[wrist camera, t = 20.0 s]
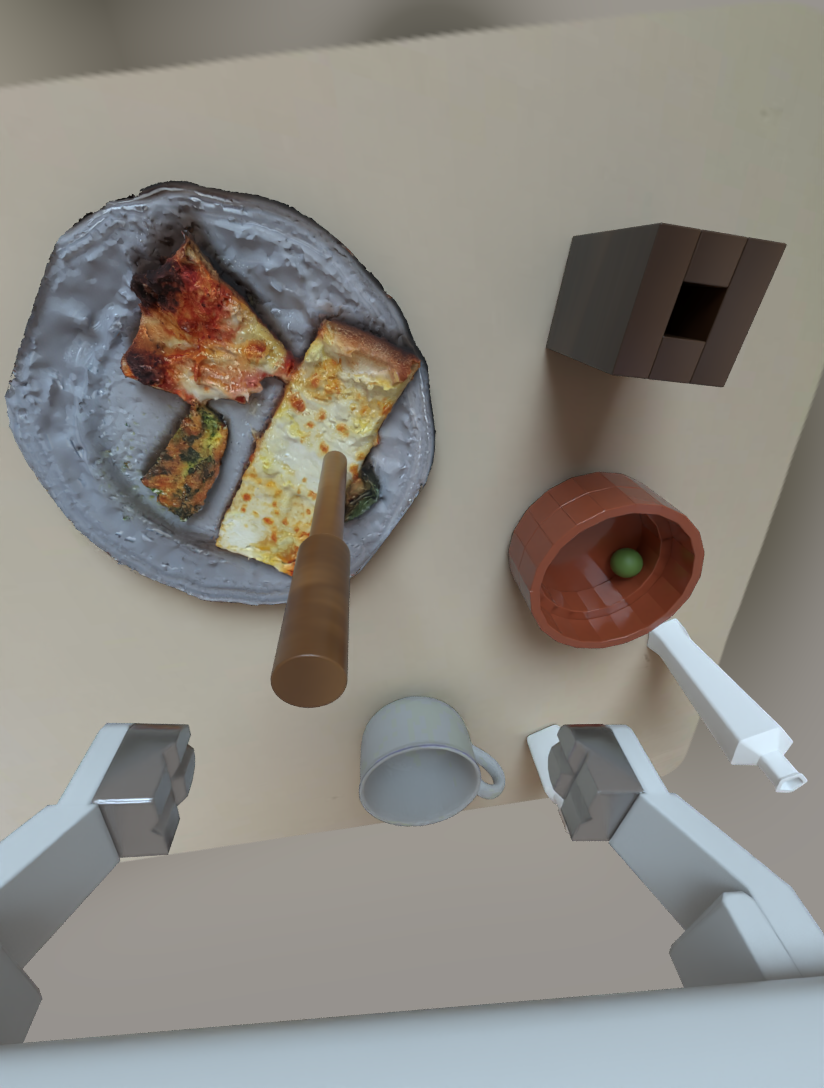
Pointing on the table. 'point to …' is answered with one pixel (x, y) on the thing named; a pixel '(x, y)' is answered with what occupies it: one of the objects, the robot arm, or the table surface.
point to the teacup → (421, 764)
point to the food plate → (217, 389)
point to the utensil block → (661, 301)
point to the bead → (626, 562)
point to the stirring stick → (318, 602)
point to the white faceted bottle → (726, 708)
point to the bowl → (603, 560)
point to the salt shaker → (545, 761)
